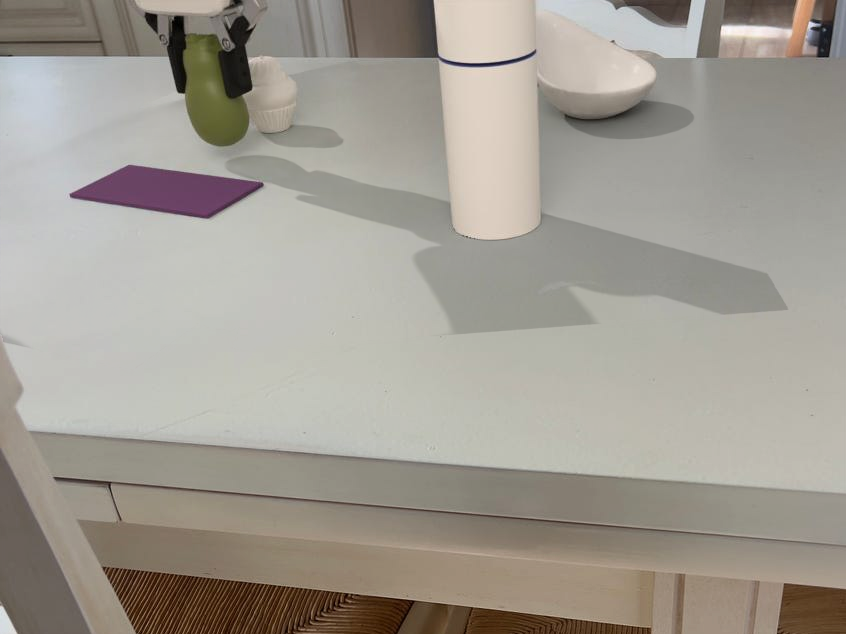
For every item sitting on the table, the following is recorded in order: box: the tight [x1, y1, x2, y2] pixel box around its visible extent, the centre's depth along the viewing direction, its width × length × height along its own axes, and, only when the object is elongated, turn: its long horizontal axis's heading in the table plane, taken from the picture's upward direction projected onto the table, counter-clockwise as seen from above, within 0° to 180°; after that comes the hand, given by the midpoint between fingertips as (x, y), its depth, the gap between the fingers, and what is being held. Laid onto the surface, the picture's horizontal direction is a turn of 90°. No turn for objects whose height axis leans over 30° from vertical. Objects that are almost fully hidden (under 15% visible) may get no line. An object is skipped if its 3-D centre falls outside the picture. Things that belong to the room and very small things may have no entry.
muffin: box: [243, 54, 299, 134], centre depth 102 cm, size 6×6×7 cm
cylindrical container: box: [433, 0, 542, 241], centre depth 74 cm, size 7×7×25 cm
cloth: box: [69, 164, 264, 219], centre depth 92 cm, size 16×8×1 cm, turn 63°
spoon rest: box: [536, 9, 658, 120], centre depth 104 cm, size 24×12×7 cm, turn 28°
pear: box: [183, 32, 250, 148], centre depth 94 cm, size 6×5×10 cm
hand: (214, 89), depth 94 cm, fingers closed on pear, 5 cm apart
